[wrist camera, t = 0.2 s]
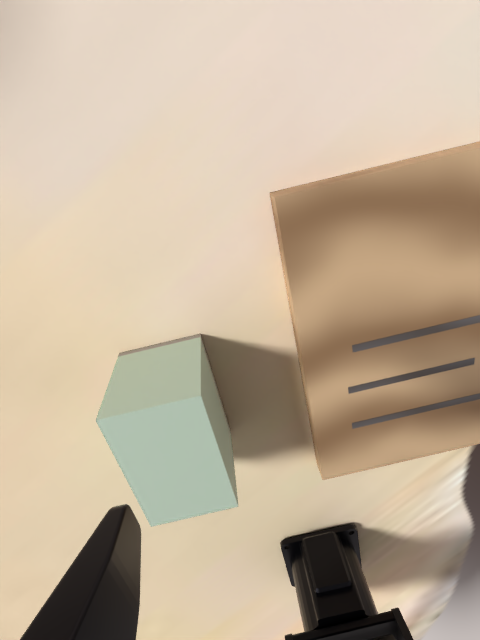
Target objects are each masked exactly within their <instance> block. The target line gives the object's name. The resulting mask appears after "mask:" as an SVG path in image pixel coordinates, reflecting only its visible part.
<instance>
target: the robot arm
mask: <svg viewBox="0 0 480 640" xmlns="http://www.w3.org/2000/svg"><path fill="white" fill-rule="evenodd" d="M280 544H281V549H282V553H283V557H284V560H285V564H286V567H287V571H288V575H289V578H290V582H291V585H292V586H294V587H295V588H296V593H297V598H298V602H299V607H300V612H301V617H302V622H303V627H304V631H305V632H303V633H299V634H295V635H292V634H288V635H285V640H413V638H412V636H411V633H410V631H409V629H408V627H407V625H406V623H405V621H404V619H403V617H402V614H401V612H400V610H399V608H394V609H391V611H389V612H384V613H380V614H378V612H377V610H376V607H375V604H374V601H373V599H372V596H371V593H370V590H369V588H368V585H367V582H366V579H365V577H364V574H363V571H362V567H361V558H360V550H359V541H358V533H357V529H356V527H355V525H352V524H350V525H345V526H341V527H337V528H332V529H328V530H324V531H319V532H315V533H311V534H306V535H302V536H298V537H293V538H289V539H285V540H283V541H281V543H280ZM140 567H141V529H140V525H139V523H138V521H137V519H136V517H135V515H134V513H133V511H132V509H131V508H130V506H129V505H127V504H125V505H120V506H116V507H112V508H111V509H110V510H109V511H108V512H107V514H106V515H105V517H104V518H103V519H102V521H101V522H100V524H99V525H98V527H97V528H96V530H95V531H94V533H93V534H92V535H91V537H90V538H89V540H88V541H87V543H86V544H85V546H84V547H83V549H82V550H81V551H80V553H79V554H78V556H77V557H76V559H75V560H74V562H73V563H72V565H71V566H70V567H69V569H68V570H67V572H66V573H65V575H64V576H63V578H62V579H61V581H60V582H59V584H58V585H57V586H56V588H55V589H54V591H53V592H52V594H51V595H50V597H49V598H48V600H47V601H46V602H45V604H44V605H43V607H42V608H41V610H40V611H39V613H38V614H37V616H36V617H35V618H34V620H33V621H32V623H31V624H30V626H29V627H28V629H27V630H26V632H25V633H24V634H23V636H22V637H21V639H20V640H136V632H137V624H138V615H139V604H140Z"/></svg>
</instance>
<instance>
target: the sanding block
mask: <svg viewBox="0 0 480 640" xmlns="http://www.w3.org/2000/svg"><path fill="white" fill-rule="evenodd" d="M96 422H97V424H98V426H99V428H100V430H101V432H102V433H103V435H104V437H105V439H106V441H107V443H108V445H109V447H110V449H111V451H112V453H113V455H114V456H115V458H116V460H117V462H118V464H119V466H120V468H121V470H122V472H123V474H124V476H125V478H126V479H127V481H128V483H129V485H130V487H131V489H132V491H133V493H134V495H135V497H136V499H137V501H138V502H139V504H140V506H141V508H142V510H143V512H144V514H145V516H146V518H147V520H148V522H149V524H150V525H151V527H152V526H156V525H161V524H165V523H169V522H174V521H178V520H182V519H187V518H191V517H195V516H200V515H204V514H208V513H213V512H217V511H221V510H226V509H230V508H234V507H238V499H237V489H236V479H235V469H234V459H233V449H232V439H231V431H230V427H229V424H228V421H227V418H226V414H225V411H224V408H223V405H222V401H221V398H220V395H219V392H218V388H217V385H216V382H215V379H214V375H213V372H212V369H211V366H210V363H209V359H208V356H207V353H206V350H205V346H204V343H203V340H202V337H201V334H197V335H193V336H189V337H184V338H180V339H176V340H172V341H168V342H164V343H159V344H155V345H151V346H147V347H143V348H138V349H134V350H130V351H126V352H122V353H119V356H118V359H117V361H116V364H115V367H114V370H113V373H112V376H111V378H110V381H109V384H108V387H107V390H106V393H105V395H104V398H103V401H102V404H101V407H100V410H99V412H98V415H97V418H96Z"/></svg>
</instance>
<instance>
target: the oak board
mask: <svg viewBox="0 0 480 640" xmlns="http://www.w3.org/2000/svg"><path fill="white" fill-rule="evenodd" d="M270 197H271V203H272V209H273V215H274V220H275V226H276V232H277V237H278V243H279V249H280V255H281V260H282V266H283V272H284V277H285V283H286V289H287V295H288V300H289V306H290V312H291V317H292V323H293V329H294V335H295V340H296V346H297V352H298V357H299V363H300V369H301V375H302V380H303V386H304V392H305V397H306V403H307V409H308V415H309V420H310V426H311V432H312V438H313V443H314V449H315V455H316V460H317V465H318V468H319V471H320V474H321V476H322V479H323V480H325V479H330V478H334V477H338V476H343V475H347V474H351V473H356V472H360V471H364V470H369V469H373V468H377V467H382V466H386V465H390V464H394V463H399V462H403V461H407V460H412V459H416V458H420V457H425V456H429V455H433V454H438V453H442V452H446V451H451V450H455V449H459V448H464V447H468V446H472V445H476V444H480V142H476V143H472V144H468V145H464V146H459V147H455V148H451V149H447V150H443V151H439V152H435V153H431V154H427V155H423V156H418V157H414V158H410V159H406V160H402V161H398V162H394V163H390V164H386V165H382V166H377V167H373V168H369V169H365V170H361V171H357V172H353V173H349V174H345V175H341V176H336V177H332V178H328V179H324V180H320V181H316V182H312V183H308V184H304V185H300V186H295V187H291V188H287V189H283V190H279V191H275V192H271V193H270Z"/></svg>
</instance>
